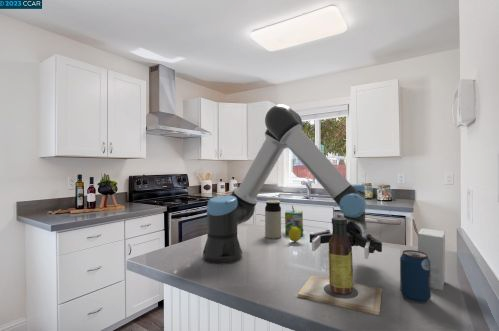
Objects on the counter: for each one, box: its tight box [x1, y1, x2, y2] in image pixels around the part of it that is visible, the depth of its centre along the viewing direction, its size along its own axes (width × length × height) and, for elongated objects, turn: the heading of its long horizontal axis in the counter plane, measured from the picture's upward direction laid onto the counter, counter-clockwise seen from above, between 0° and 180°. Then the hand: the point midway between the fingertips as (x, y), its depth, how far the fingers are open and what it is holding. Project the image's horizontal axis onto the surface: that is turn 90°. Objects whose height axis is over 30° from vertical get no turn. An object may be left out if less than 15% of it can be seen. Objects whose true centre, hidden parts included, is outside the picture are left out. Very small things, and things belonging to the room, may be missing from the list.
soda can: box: [399, 249, 432, 304], centre depth 73 cm, size 7×7×12 cm
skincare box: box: [417, 227, 446, 291], centre depth 82 cm, size 8×7×16 cm
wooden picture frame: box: [297, 275, 383, 316], centre depth 75 cm, size 20×14×1 cm
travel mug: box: [264, 199, 282, 240], centre depth 137 cm, size 8×8×18 cm
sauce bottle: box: [328, 216, 354, 295], centre depth 75 cm, size 6×6×20 cm
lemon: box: [286, 223, 304, 243], centre depth 126 cm, size 7×6×10 cm
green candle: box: [284, 204, 304, 236], centre depth 144 cm, size 9×9×15 cm
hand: (338, 249), depth 73 cm, fingers open, 13 cm apart
